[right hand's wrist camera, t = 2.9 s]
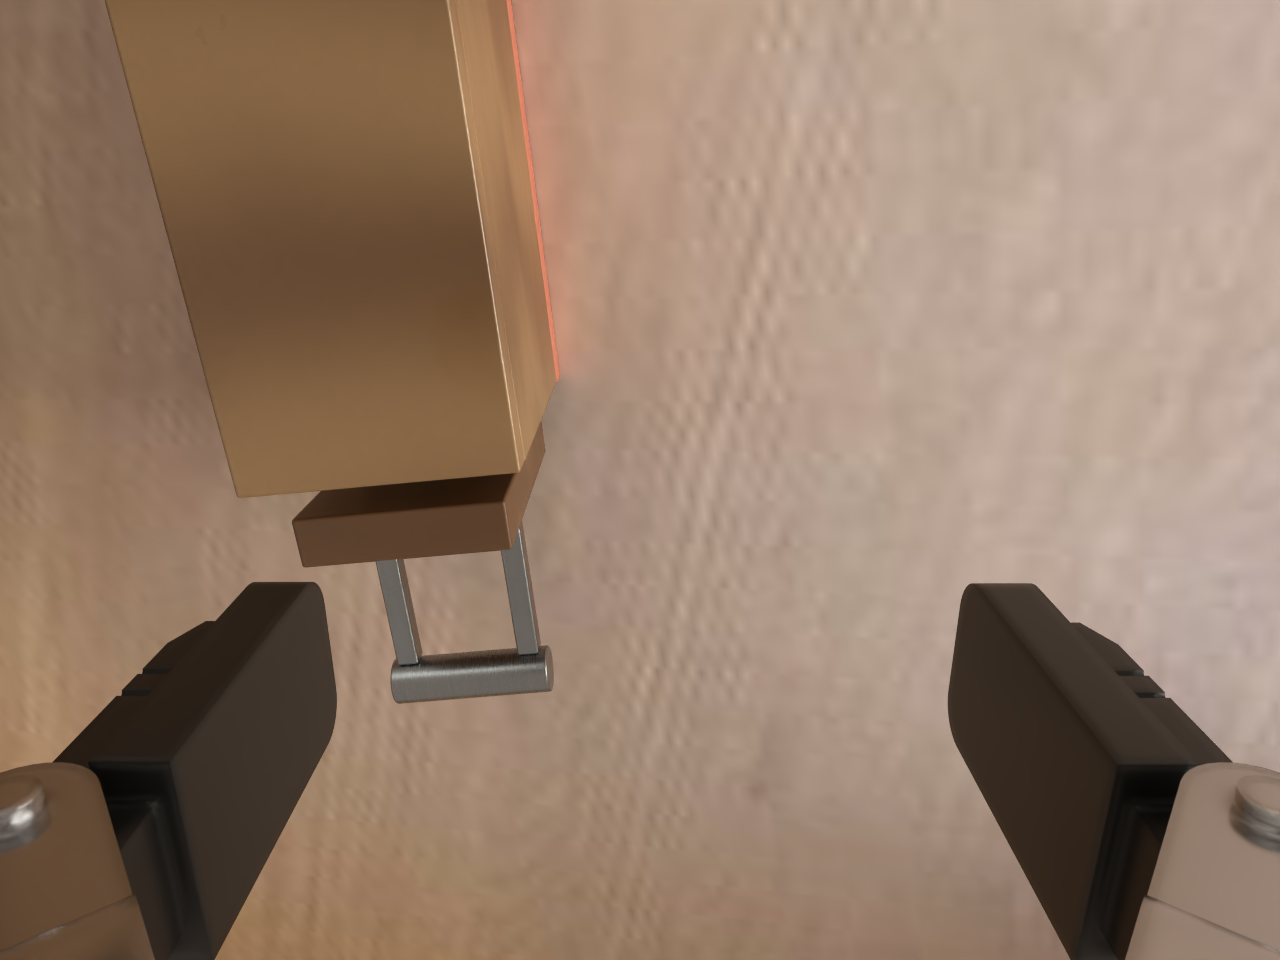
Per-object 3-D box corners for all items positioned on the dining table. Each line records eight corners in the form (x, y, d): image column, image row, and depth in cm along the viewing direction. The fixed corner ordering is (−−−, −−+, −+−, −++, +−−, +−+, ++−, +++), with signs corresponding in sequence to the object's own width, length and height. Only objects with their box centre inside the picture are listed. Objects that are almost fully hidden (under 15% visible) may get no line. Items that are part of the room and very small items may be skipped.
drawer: (570, 626, 29) (547, 769, 22) (422, 639, 29) (354, 784, 22) (425, -414, 20) (312, -705, 13) (213, -387, 20) (-3, -660, 13)
